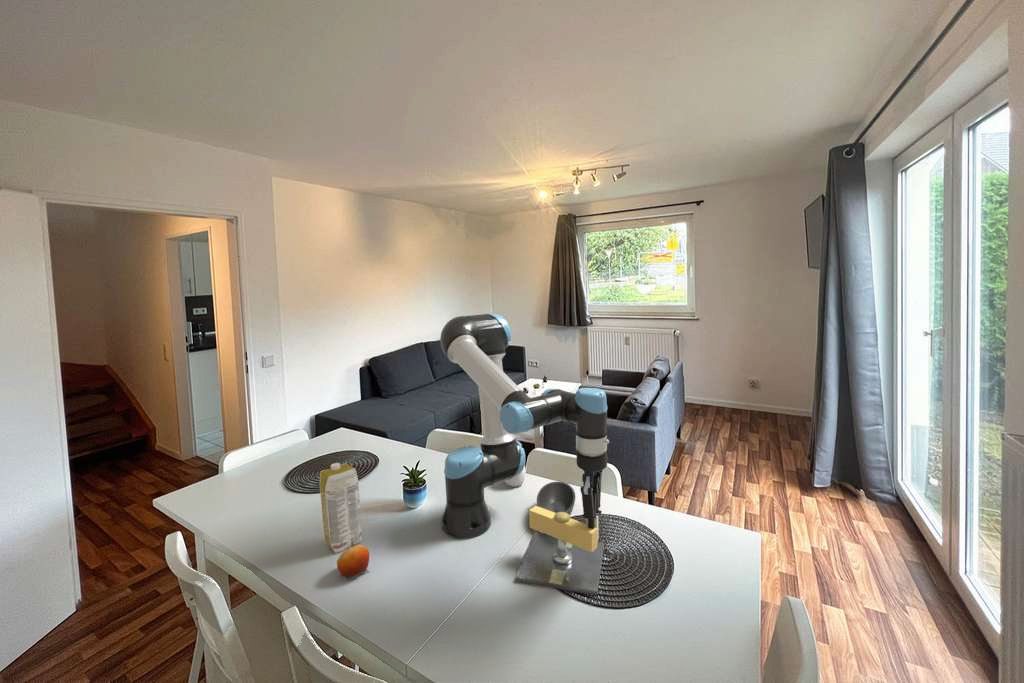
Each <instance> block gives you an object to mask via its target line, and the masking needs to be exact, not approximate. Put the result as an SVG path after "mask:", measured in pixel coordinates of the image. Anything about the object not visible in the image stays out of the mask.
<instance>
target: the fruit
mask: <svg viewBox="0 0 1024 683" xmlns="http://www.w3.org/2000/svg"><path fill="white" fill-rule="evenodd" d="M369 563H370V550H369V549H368V547H366V546H365V545H363V544H356V545H354V546H351V547H349V548H347V549H345V550H343V551H342V552H341V554H340V556H339V557H338V558H337V561H336V566H337V571H338V573H339V574H340V575H341V577H343V578H344V579H353V580H356V579H357V577H359V575H360V574H362V573H366V572H368V573H370V571H369V570H368V567H369Z"/></svg>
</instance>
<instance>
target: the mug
mask: <svg viewBox="0 0 1024 683" xmlns="http://www.w3.org/2000/svg"><path fill="white" fill-rule="evenodd" d="M526 473H527V472H526V465H525V466H524V468H523V470H522V471H521V473H520V474H519V475H517V476H515V477H513V478H512V479H509V480H505V481H504V482H505V484H506V485H507V486H509V487H512V488H513V487H514V488H515V487H520V486H522V485H523V483H524V482H525V480H526V479H525V478H526Z"/></svg>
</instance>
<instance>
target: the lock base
mask: <svg viewBox="0 0 1024 683" xmlns="http://www.w3.org/2000/svg"><path fill="white" fill-rule="evenodd" d="M529 542H530V543H529V545H528V548H527V550H526V553H525V555H524V557H523V559H522V562H521V564H520V566H519V569H518V571H517V573H516V576H515V583H516V582H517V583H522V584H528V585H535V586H539V587H547V588H552V589H557V590H562V591H567V592H573V593H579V594H585V595H591V596H595V597H597V596H598V594H599V593H598V592H599V586H600V585H599V584H600V577H601V573H602V572H601V571H602V563H603V556H604V549H605V542H604V541H598V547H597V548H596V549H595V550H594V551H593V552H589V551H587V550H584V549H582V548H579V547H577V546H574V545H572V544H569V543H567V542H565V541H562V540H560V539H557V538H555V537H552V536H550V535H547V534H545V533H542V532H540V533H539V532H534V533H533V536H532V538H531V540H530V541H529Z"/></svg>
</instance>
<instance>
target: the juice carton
mask: <svg viewBox="0 0 1024 683" xmlns="http://www.w3.org/2000/svg"><path fill="white" fill-rule="evenodd" d="M358 477H359V476H358V473H357V470H356V468H355V467H353V466H352V465H351V464H349V463H347V462H345V463H342V464H341V463H340V462H334V463H332V464H330V468H326V469H324V470H320V472H319V492H320V504H321V513H322V525H323V526H322V527H323V535H324V539H325V543H326V544H327V546H328V547H329V548H330V549H331V551H333V552H334V553H335V554H337V553H340V552H344V551H345V550H347V549H349V548H352V547H353V546H356V545H359V544H360V543H361V542H362V535H363V533H362V532H363V531H362V530H363V526H362V513H361V503H360V502H361V500H360V488H359V487H360V486H359V478H358Z"/></svg>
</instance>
